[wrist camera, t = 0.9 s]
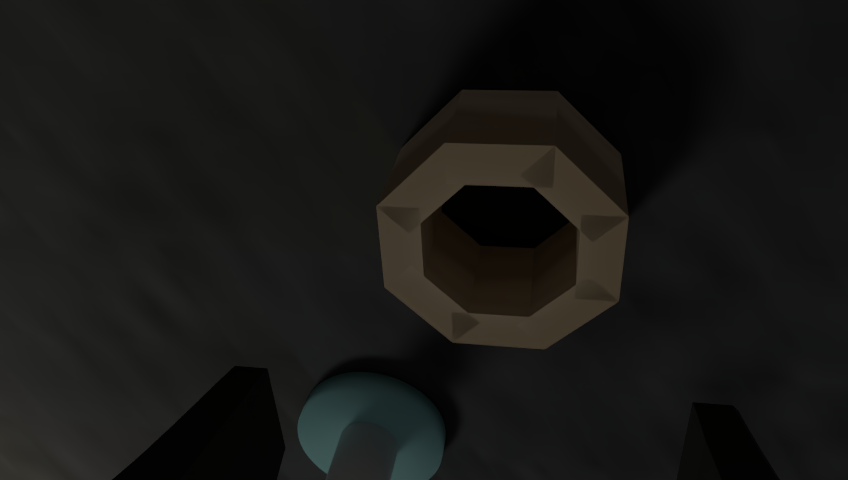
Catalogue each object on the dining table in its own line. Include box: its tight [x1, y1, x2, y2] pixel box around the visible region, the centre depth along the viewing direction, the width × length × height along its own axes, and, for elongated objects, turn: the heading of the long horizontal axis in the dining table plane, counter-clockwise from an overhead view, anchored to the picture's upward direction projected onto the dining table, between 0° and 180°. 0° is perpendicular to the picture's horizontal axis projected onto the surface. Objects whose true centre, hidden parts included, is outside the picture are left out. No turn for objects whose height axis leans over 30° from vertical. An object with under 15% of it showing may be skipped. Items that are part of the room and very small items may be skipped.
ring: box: [376, 90, 629, 349], centre depth 18 cm, size 6×6×3 cm
